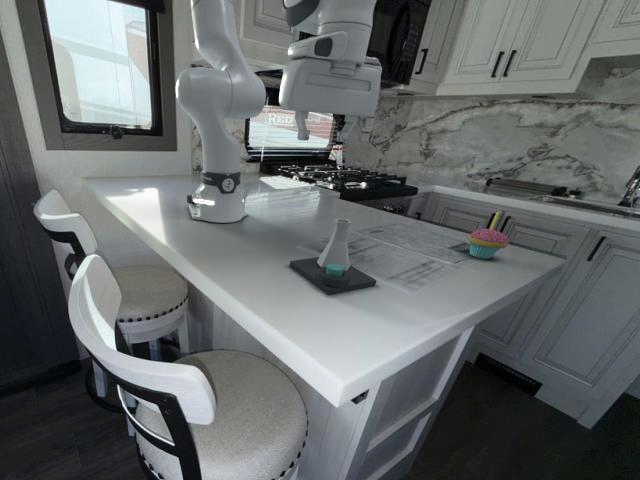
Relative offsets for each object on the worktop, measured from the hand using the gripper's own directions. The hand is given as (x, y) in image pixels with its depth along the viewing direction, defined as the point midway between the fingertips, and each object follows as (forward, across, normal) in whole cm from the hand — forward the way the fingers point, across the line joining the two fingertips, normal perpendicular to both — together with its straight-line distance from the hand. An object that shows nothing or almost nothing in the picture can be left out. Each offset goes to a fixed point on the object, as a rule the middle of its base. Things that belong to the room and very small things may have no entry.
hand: (322, 141), depth 60 cm
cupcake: (+25, -49, +13) cm, 57 cm away
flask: (+24, -3, +8) cm, 25 cm away
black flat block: (+25, -1, +10) cm, 27 cm away
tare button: (+22, +2, +14) cm, 26 cm away
